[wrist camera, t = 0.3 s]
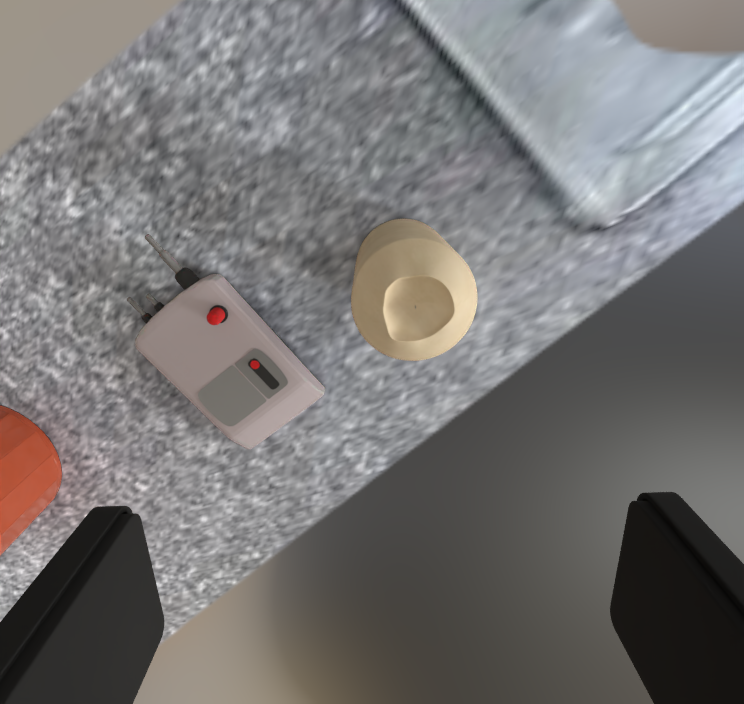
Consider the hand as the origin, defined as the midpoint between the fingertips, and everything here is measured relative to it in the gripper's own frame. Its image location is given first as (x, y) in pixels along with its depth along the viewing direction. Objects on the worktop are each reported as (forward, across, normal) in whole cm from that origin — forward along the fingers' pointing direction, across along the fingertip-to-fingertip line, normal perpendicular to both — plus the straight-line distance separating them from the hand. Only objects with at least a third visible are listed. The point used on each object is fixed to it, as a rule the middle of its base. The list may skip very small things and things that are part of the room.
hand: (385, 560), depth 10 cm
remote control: (+22, +10, +4) cm, 24 cm away
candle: (+22, -2, -2) cm, 22 cm away
